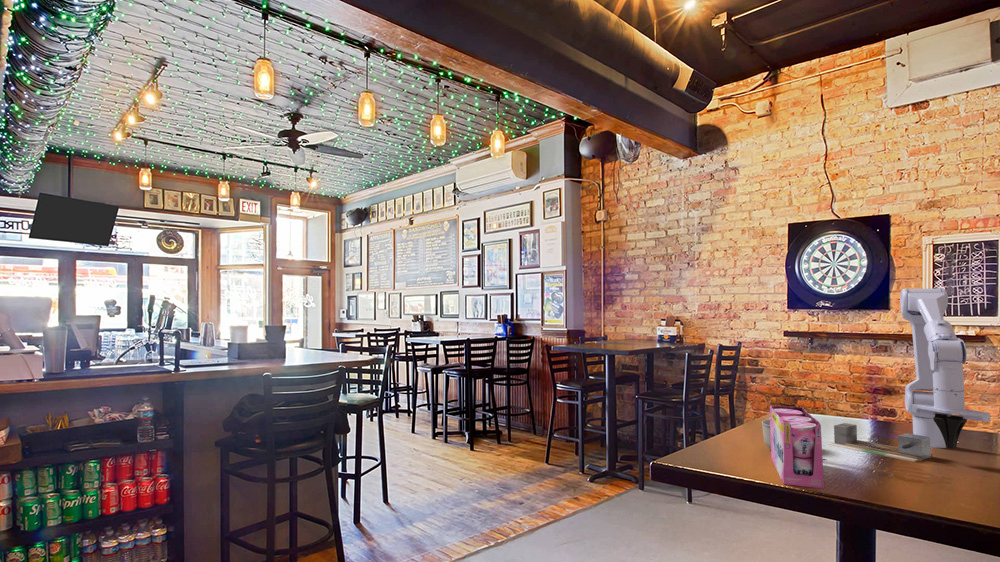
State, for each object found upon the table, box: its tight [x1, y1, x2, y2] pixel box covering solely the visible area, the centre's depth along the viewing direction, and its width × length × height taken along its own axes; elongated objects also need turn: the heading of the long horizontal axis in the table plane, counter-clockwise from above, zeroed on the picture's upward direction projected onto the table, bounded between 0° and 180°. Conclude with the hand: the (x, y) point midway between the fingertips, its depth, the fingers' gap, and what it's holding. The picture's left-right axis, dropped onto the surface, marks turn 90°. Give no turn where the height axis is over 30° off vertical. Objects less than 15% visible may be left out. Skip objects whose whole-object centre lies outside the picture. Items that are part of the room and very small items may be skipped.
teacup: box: [761, 417, 771, 450], centre depth 146 cm, size 14×11×8 cm
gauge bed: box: [826, 422, 933, 463], centre depth 141 cm, size 12×22×6 cm, turn 32°
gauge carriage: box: [897, 432, 932, 461], centre depth 134 cm, size 8×5×5 cm, turn 122°
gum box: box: [769, 405, 824, 489], centre depth 125 cm, size 24×8×14 cm, turn 160°
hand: (951, 447), depth 128 cm, fingers closed
